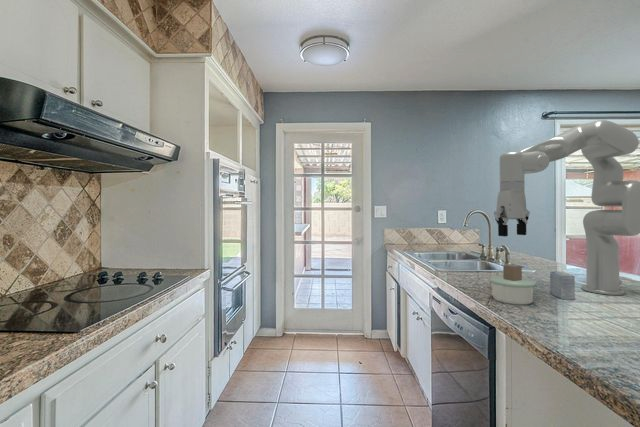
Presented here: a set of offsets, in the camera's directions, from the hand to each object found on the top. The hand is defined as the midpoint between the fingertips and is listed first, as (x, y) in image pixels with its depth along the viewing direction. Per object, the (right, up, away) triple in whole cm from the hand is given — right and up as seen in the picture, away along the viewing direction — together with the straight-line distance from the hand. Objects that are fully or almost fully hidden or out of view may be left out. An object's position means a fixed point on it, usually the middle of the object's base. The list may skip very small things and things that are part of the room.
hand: (512, 235), depth 112 cm
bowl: (0, -23, 0) cm, 23 cm away
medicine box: (+20, -23, +3) cm, 31 cm away
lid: (0, -17, 0) cm, 17 cm away
